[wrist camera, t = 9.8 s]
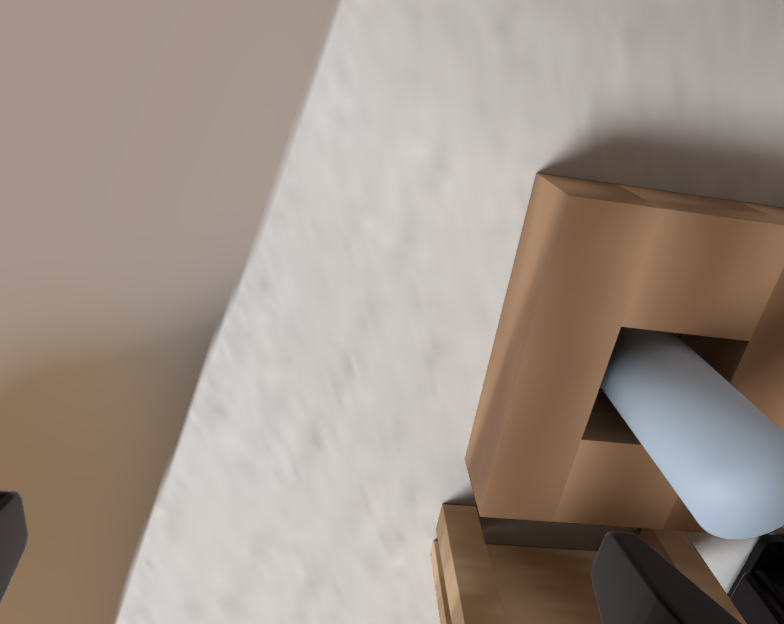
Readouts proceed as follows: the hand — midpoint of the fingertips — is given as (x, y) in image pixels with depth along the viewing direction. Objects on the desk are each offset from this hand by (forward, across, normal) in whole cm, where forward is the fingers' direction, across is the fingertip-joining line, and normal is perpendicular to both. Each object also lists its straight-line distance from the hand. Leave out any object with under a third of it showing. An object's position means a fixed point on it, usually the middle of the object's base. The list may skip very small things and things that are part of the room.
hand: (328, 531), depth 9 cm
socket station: (+12, -11, +5) cm, 17 cm away
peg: (+12, -11, +2) cm, 17 cm away
